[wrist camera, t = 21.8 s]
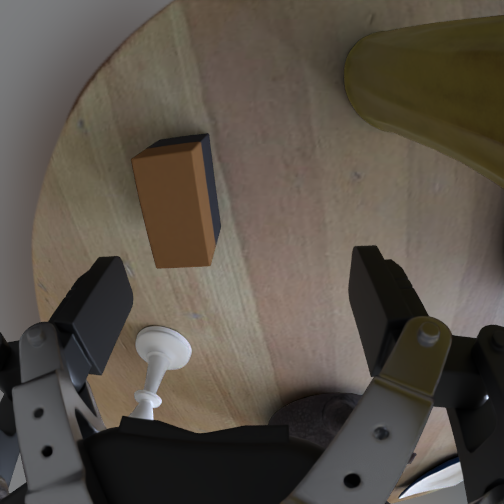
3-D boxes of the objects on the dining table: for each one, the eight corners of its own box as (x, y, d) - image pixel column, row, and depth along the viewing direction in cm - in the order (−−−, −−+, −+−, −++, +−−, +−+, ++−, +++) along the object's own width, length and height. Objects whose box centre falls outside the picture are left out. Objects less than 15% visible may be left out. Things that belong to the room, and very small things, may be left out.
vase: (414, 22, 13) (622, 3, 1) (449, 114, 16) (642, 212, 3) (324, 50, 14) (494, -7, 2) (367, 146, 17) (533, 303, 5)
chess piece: (187, 370, 28) (167, 467, 19) (136, 355, 27) (103, 449, 18) (195, 334, 25) (171, 444, 17) (137, 318, 25) (95, 422, 16)
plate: (390, 491, 51) (392, 500, 49) (445, 453, 41) (449, 464, 39) (453, 478, 53) (455, 486, 50) (506, 437, 42) (510, 447, 40)
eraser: (159, 139, 17) (129, 159, 14) (209, 133, 17) (192, 150, 13) (175, 230, 20) (156, 269, 17) (221, 227, 20) (210, 266, 16)
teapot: (388, 429, 34) (402, 496, 25) (268, 441, 35) (267, 513, 26) (436, 326, 24) (479, 418, 16) (261, 341, 25) (258, 454, 17)
